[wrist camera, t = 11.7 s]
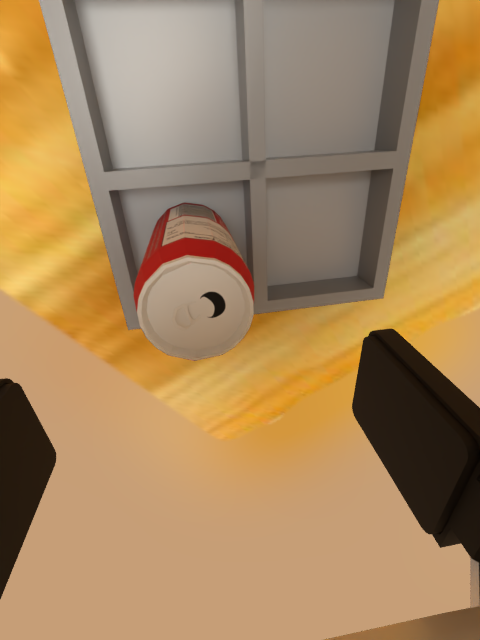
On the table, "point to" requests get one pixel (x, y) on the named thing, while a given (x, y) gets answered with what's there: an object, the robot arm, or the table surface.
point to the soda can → (193, 285)
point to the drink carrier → (249, 130)
